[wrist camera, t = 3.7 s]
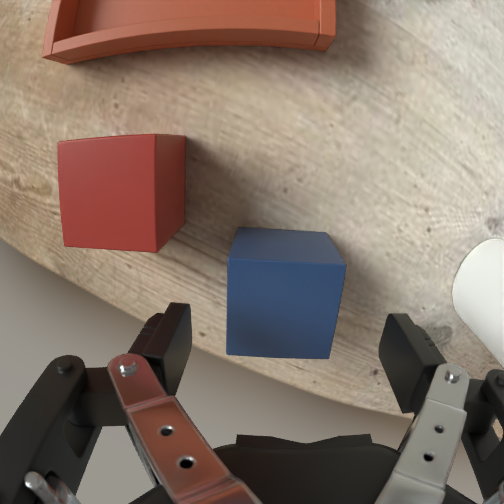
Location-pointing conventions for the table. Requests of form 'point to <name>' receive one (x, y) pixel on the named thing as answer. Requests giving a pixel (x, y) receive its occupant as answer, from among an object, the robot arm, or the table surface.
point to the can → (483, 294)
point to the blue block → (283, 293)
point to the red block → (122, 191)
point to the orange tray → (183, 25)
